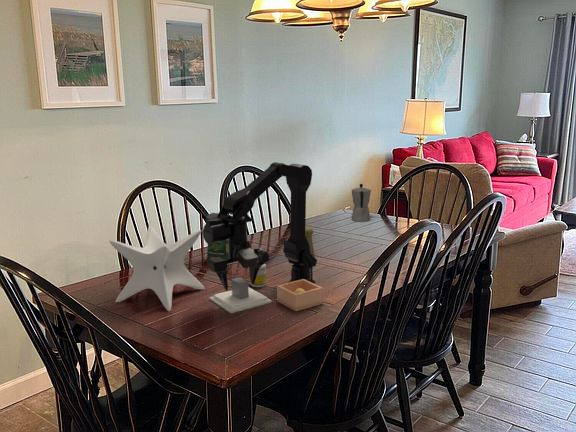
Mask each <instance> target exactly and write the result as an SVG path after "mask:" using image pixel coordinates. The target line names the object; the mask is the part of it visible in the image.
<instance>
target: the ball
mask: <svg viewBox="0 0 576 432" xmlns="http://www.w3.org/2000/svg"><path fill="white" fill-rule="evenodd" d="M301 292H305V290H304V289H302V288H298V289H296V290H295V292H294V293H296V294H297V293H301Z"/></svg>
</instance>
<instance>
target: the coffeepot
mask: <svg viewBox="0 0 576 432" xmlns="http://www.w3.org/2000/svg"><path fill="white" fill-rule="evenodd" d="M363 186H364V184H363V183H359V187H356V188H352V189H351V197H352V203H353V209H352V214H351V220H352V222H356V223H367V222H370V220H371V215H370V210H369V209H370V208H369V204H370V199H371V198H370V197H371V192H372V190H371V189H369V188H365V187H363Z"/></svg>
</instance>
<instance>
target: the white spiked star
mask: <svg viewBox="0 0 576 432" xmlns="http://www.w3.org/2000/svg"><path fill="white" fill-rule="evenodd" d="M201 233H202V230H201V229H199V230H196V231H193V232H192V233H190V234H188V235H187V236H185V237H183V238H181V239H180V240H178V241H175V242H173V243H169V244H168V243H165V242H164V241H163V240H162V238H161V237H160V236H159V234H158V232H156V230H155V229H154V227H153V226H152V225H148V227H147V233H146V241H145V245H144V246H142V247H138V246H133V245H131V244H130V245H129V244H128V243H123V242H121V241H118V240H112V239H111V240H108V241H109V244H111V246H112V247H113V248H114V249H115V250H116V251H118V253H119V254H120V255H121V256H122V257H124V259H126V260H127V261H128V262H129V263H130V265H131V266H132V269H133V271H132V273H131V276H130V278H129V279H128V282H127V283H126V284H125V286H124V287H123V288H122V290H121V291H120V293H119V294H118V295H117V297H116V299H115V302H119V303H121V302H122V301H125V300H127V299H129V298H130V297H132V296H134V295H136V294H137V293H139V292H142V291H143V290H147V289H150V290H152V291H154V293H155V295H156V296H157V297H158V299H159V300H160V302H161V303H162V306H163V307H164V308H165V310H166V311H168V312H171V311H172V304H173V303H172V302H173V288H174V286H175V285H182V286H185V287H190V288H193V289H197V290H202V291H203V290H205V286H204V285H203V284H202V283H201V282H200V281H199V280H198V279H197V277H195V276H194V275H193V274H192V273H191V272H190V271H189V270H188V269H187V267H186V265H185V259H186V257H187V254H188V253H189V251H190V250H191V248H192V247H193V245H194V244H195V243H196V242H197V240H198V238H199V237H200V235H201ZM115 302H114V303H115Z"/></svg>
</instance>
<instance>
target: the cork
mask: <svg viewBox="0 0 576 432" xmlns="http://www.w3.org/2000/svg"><path fill="white" fill-rule="evenodd" d="M313 233H314V230H313V228H312V227H310V226H305V236H306V238H307V240H308V242H309V245H310V253H311V254H312V255H313V256H315V248H314V241H313V236H312V235H314V234H313Z"/></svg>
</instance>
